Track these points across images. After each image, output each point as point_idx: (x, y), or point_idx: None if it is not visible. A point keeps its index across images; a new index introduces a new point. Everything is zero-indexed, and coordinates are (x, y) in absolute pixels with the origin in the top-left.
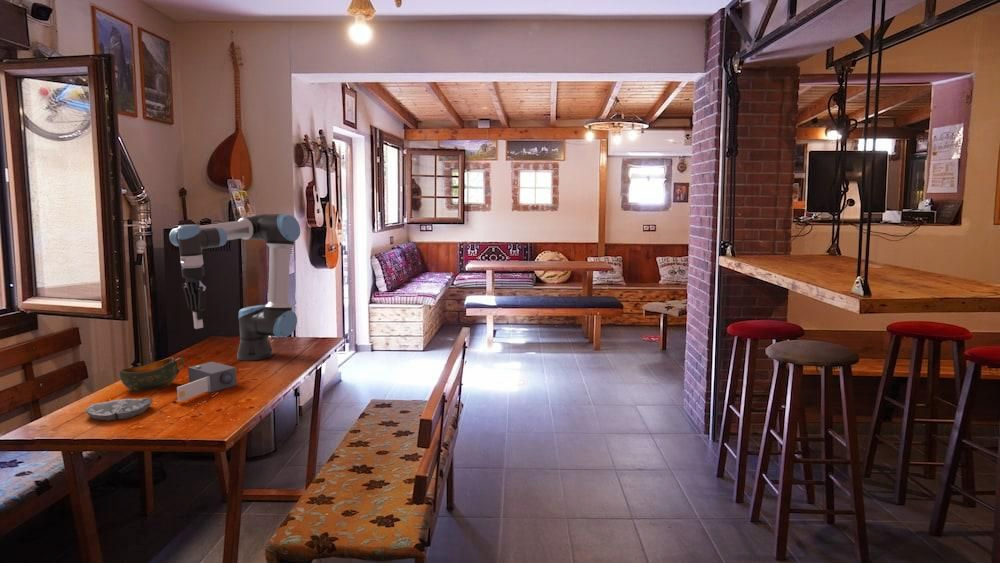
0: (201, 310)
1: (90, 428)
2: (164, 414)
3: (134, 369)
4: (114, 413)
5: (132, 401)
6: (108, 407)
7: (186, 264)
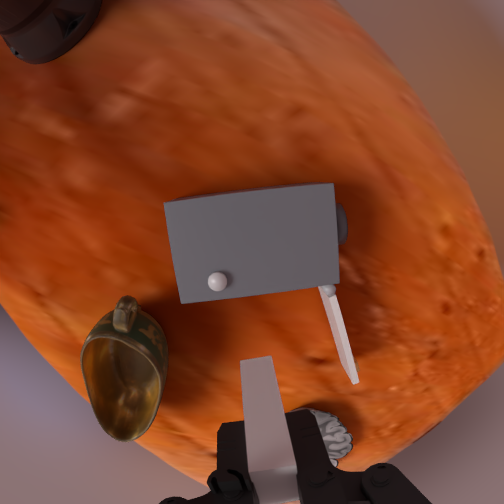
0: (352, 478)
1: None
2: (377, 392)
3: (95, 402)
4: (336, 460)
5: None
6: None
7: None
